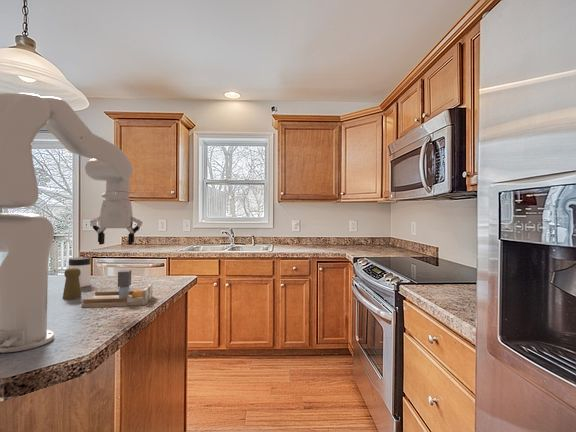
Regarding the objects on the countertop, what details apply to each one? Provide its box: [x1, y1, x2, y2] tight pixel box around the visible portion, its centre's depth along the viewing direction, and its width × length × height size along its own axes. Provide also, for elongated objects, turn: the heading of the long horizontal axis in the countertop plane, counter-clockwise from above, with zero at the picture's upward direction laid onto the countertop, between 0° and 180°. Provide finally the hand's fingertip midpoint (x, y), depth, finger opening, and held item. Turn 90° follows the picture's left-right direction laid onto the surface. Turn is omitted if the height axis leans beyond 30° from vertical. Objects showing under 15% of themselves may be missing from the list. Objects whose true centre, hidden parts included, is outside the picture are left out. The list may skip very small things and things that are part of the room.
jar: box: [67, 256, 92, 288], centre depth 146 cm, size 9×8×12 cm
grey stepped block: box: [117, 269, 132, 298], centre depth 122 cm, size 7×4×9 cm, turn 11°
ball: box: [132, 289, 143, 298], centre depth 123 cm, size 4×4×4 cm
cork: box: [62, 268, 82, 300], centre depth 126 cm, size 6×6×11 cm
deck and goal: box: [81, 283, 153, 308], centre depth 122 cm, size 14×20×5 cm
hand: (116, 244), depth 120 cm, fingers open, 9 cm apart
